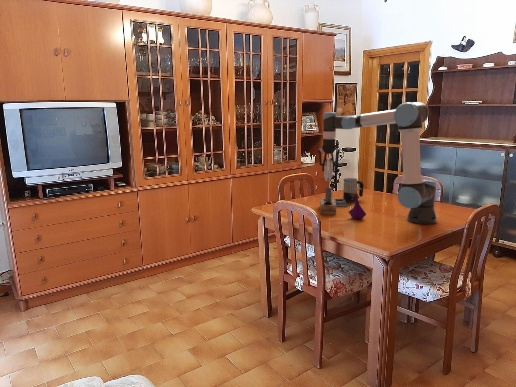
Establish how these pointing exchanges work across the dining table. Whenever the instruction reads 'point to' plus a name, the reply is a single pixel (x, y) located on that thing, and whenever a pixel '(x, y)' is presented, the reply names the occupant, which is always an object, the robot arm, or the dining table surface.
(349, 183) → the milk frother
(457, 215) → the dining table surface
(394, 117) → the robot arm
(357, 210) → the perfume bottle
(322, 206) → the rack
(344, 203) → the socket block
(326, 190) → the black peg
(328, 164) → the steel peg
